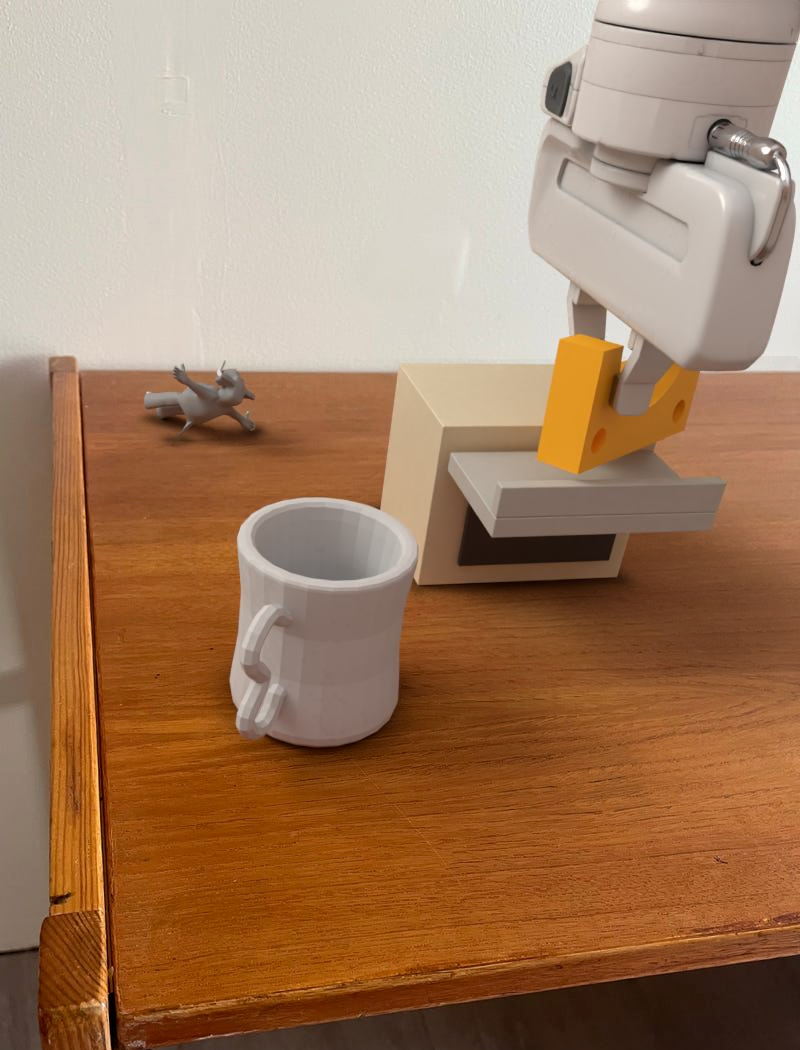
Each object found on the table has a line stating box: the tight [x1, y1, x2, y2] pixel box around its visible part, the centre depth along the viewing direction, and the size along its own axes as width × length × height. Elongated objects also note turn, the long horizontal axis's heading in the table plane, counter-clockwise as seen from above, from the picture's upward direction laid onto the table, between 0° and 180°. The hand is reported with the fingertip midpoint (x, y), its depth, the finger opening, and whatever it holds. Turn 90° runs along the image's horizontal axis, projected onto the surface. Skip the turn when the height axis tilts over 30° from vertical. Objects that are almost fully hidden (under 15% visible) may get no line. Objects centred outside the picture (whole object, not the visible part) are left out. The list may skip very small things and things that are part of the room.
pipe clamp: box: [536, 334, 701, 475], centre depth 57 cm, size 12×4×6 cm, turn 135°
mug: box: [229, 496, 419, 748], centre depth 52 cm, size 12×9×10 cm
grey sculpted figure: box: [143, 360, 256, 440], centre depth 81 cm, size 10×6×9 cm
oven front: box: [379, 362, 728, 586], centre depth 65 cm, size 14×18×11 cm
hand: (602, 390), depth 55 cm, fingers closed on pipe clamp, 4 cm apart
